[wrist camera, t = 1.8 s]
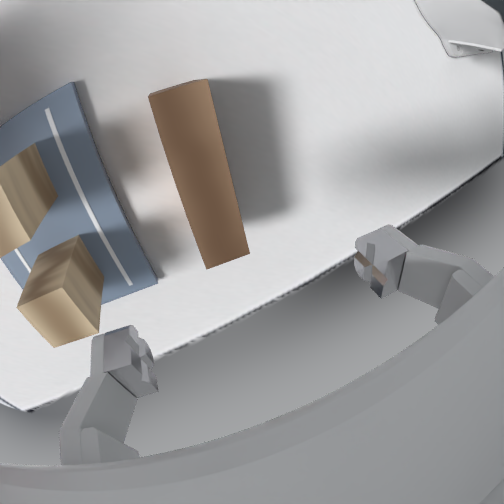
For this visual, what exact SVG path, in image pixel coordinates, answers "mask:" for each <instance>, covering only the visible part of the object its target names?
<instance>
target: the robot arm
mask: <svg viewBox="0 0 504 504" xmlns="http://www.w3.org/2000/svg"><path fill="white" fill-rule="evenodd" d="M415 2H416V4H417V6H418V8H419V10H420V11H421V13H422V15H423V16H424V18H425V19H426V21H427V22H428V24H429V25H430V26H431V27H432V29H433V30H434V31H435V32H436V33H437V34H438V36H439V37H440V39H441V41H442V43H443V46H444V48H445V50H446V52H447V53H448V55H449V56H451V57H460V56H467V55H474V54H482V53H491V52H493V50H495V51H500V52H501V51H502V49H504V0H415ZM355 248H356V249H357V250H358V252H357V254H356V255H355V257H354V265H355V268H356V271H357V273H358V275H359V276H360V277H361V278H362V279H363V280H364V281H368V282H370V288H371V289H372V290H373V291H374V292H375V293H376V294H377V295H378V296H379V297H380V298H383V297H385V296H387V295H389V294H391V293H393V292H395V291H397V290H398V291H399V292H402V293H404V294H406V295H409V296H411V297H413V298H415V299H418V300H420V301H422V302H425V303H427V304H429V305H431V306H434V307H436V308H438V309H439V310H438V312H437V314H436V316H435V322H436V323H437V324H438V326H436V327H435V328H434V329H432V330H431V331H430V332H428V333H427V334H426V335H424V336H423V337H422V338H420V339H419V340H417V341H416V342H415V343H413V344H412V345H410V346H409V347H407V348H406V349H405V350H403V351H401V352H400V353H398V354H397V355H395V356H394V357H392V358H390V359H389V360H387V361H386V362H384V363H382V364H381V365H379V366H378V367H376V368H374V369H373V370H371V371H369V372H368V373H366V374H364V375H362V376H361V377H359V378H357V379H355V380H354V381H352V382H350V383H348V384H346V385H344V386H343V387H341V388H339V389H337V390H335V391H333V392H331V393H329V394H327V395H325V396H323V397H321V398H319V399H317V400H315V401H313V402H311V403H308V404H306V405H304V406H302V407H300V408H298V409H295V410H293V411H291V412H288V413H286V414H284V415H281V416H279V417H276V418H274V419H272V420H269V421H266V422H264V423H262V424H259V425H256V426H253V427H251V428H248V429H245V430H242V431H239V432H237V433H233V434H230V435H228V436H225V437H221V438H218V439H215V440H211V441H208V442H204V443H201V444H197V445H194V446H190V447H186V448H182V449H178V450H174V451H170V452H165V453H160V454H155V455H150V456H145V457H139V453H138V451H137V450H135V449H134V448H131V447H129V446H127V445H125V444H124V441H125V437H126V434H127V431H128V427H129V424H130V421H131V418H132V415H133V412H134V409H135V406H136V403H137V400H138V399H137V398H139V397H142V396H145V395H148V394H152V393H155V392H158V385H157V379H156V375H155V374H154V373H153V371H152V368H153V366H154V360H153V356H152V353H151V350H150V348H149V346H148V344H147V343H146V341H145V340H144V339H142V338H139V337H138V331H137V330H136V328H135V327H134V326H133V325H129V326H126V327H123V328H120V329H116V330H113V331H110V332H107V333H105V334H101V335H98V336H95V337H93V339H92V344H91V369H90V377H88V378H87V379H86V380H85V382H84V384H83V386H82V388H81V390H80V392H79V393H78V395H77V397H76V399H75V401H74V403H73V405H72V407H71V409H70V410H69V412H68V414H67V416H66V418H65V420H64V422H63V424H62V426H61V428H60V430H59V440H60V459H61V465H54V466H42V465H40V466H39V465H37V466H36V465H17V464H6V463H0V504H504V267H503V268H502V269H501V270H500V271H499V273H497V275H495V276H493V275H492V274H490V273H489V272H488V271H487V270H486V269H485V268H483V267H482V266H481V265H480V264H479V263H477V262H476V261H475V260H474V259H473V258H470V257H466V256H463V255H459V254H455V253H452V252H448V251H444V250H441V249H437V248H433V247H429V246H425V245H419V246H418V245H417V244H416V243H414V242H413V241H412V240H411V239H409V238H408V237H407V236H405V235H404V234H403V233H401V232H400V231H399V230H398V229H396V228H395V227H393V226H392V225H386V226H384V227H382V228H379V229H378V230H375V231H373V232H370V233H368V234H366V235H363V236H361V237H359V238H357V240H356V242H355Z"/></svg>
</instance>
